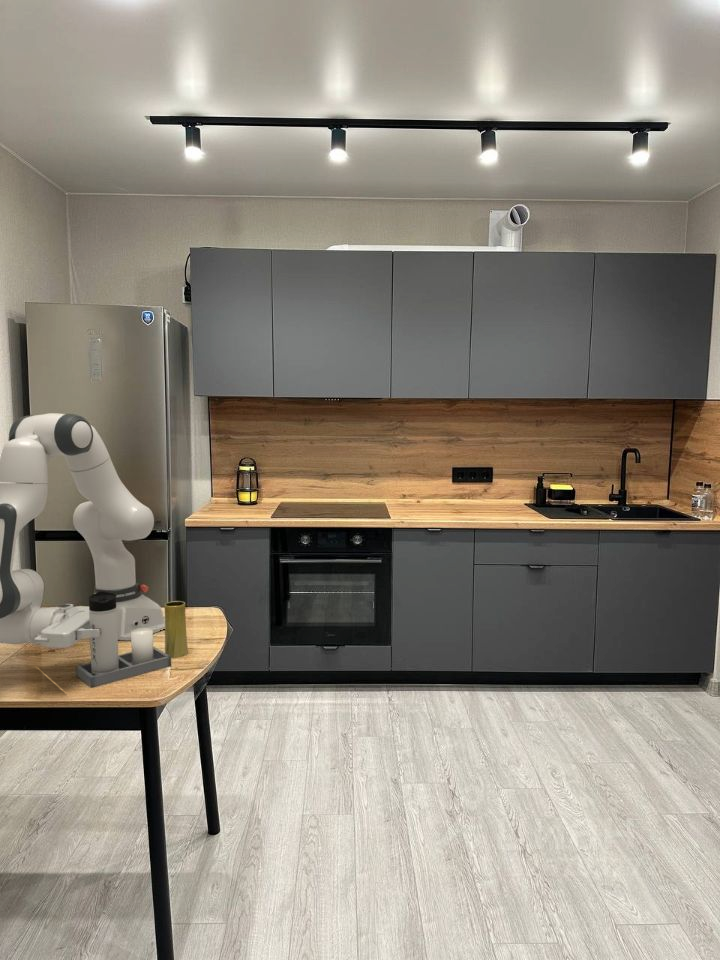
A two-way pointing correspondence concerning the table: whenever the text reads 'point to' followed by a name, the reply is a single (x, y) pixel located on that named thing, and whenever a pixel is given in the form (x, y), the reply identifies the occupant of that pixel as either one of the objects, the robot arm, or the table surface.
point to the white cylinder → (142, 645)
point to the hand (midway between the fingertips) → (107, 627)
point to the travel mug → (103, 632)
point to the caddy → (123, 669)
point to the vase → (175, 629)
